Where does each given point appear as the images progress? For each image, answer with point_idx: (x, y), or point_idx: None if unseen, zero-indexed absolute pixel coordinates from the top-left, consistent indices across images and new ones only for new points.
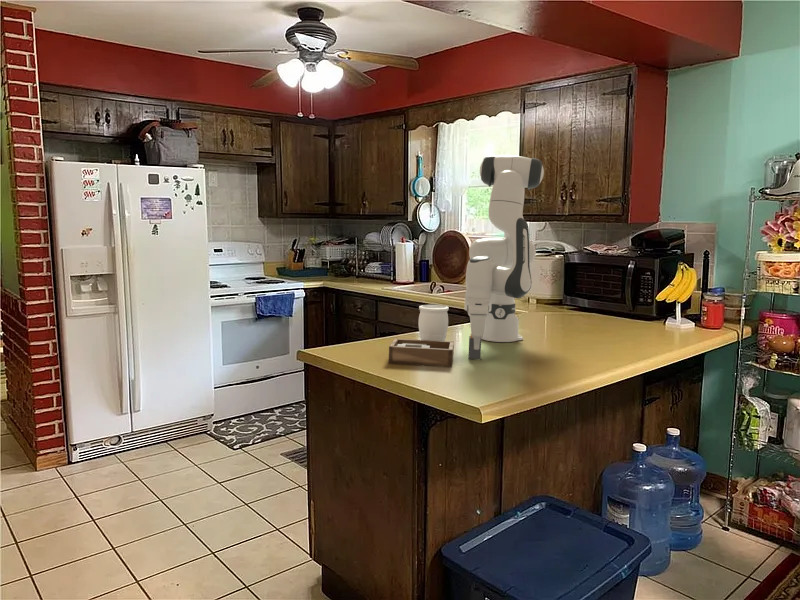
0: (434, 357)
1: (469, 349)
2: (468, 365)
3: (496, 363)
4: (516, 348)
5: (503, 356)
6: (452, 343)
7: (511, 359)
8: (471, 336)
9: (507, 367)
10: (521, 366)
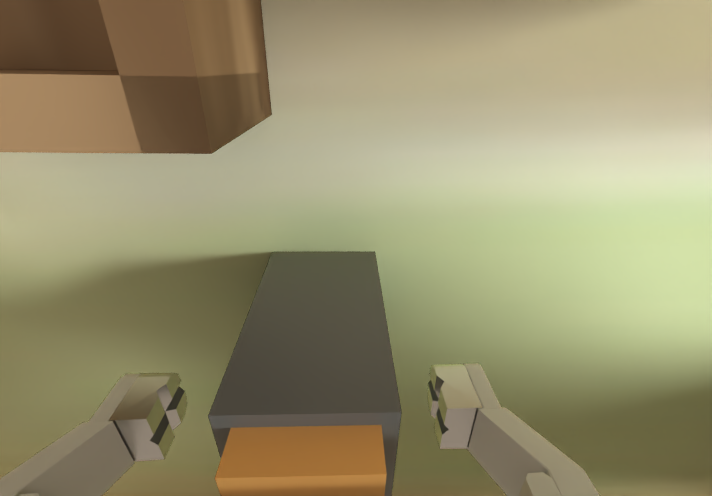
0: None
1: (254, 309)
2: (38, 256)
3: (208, 408)
4: (616, 482)
5: (409, 436)
6: (15, 130)
7: None
8: (225, 464)
9: None
10: (196, 492)
